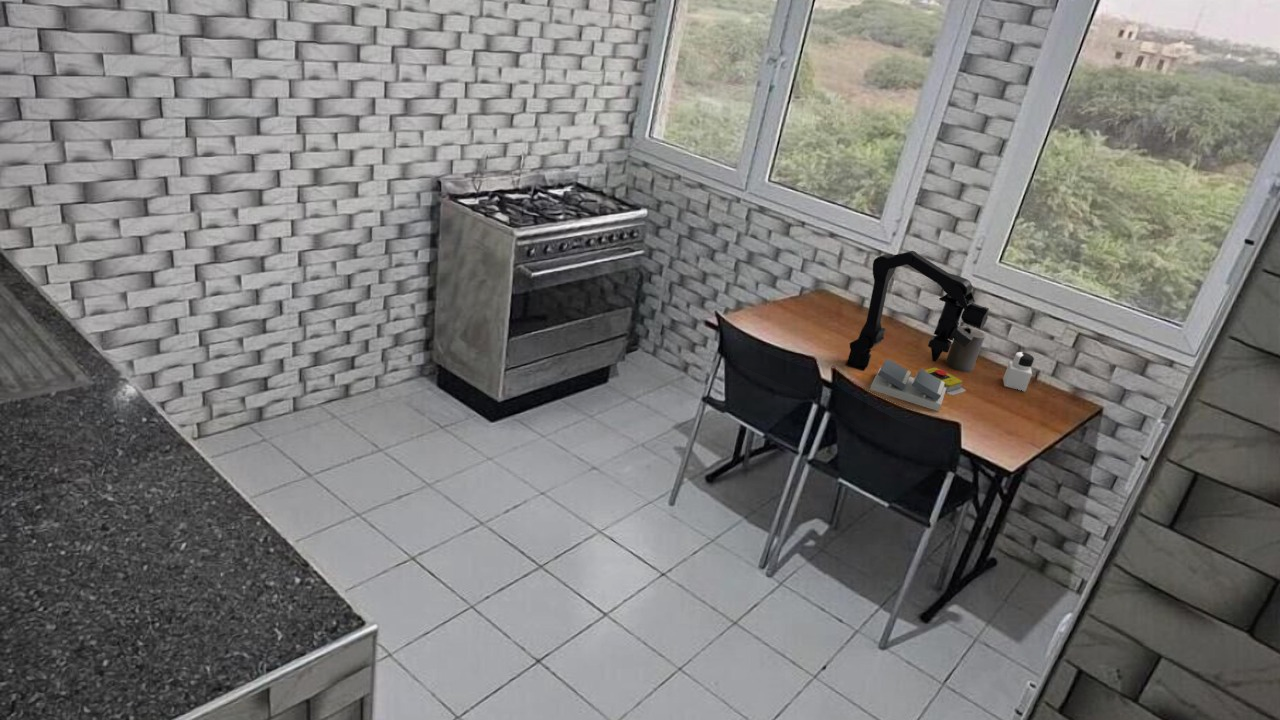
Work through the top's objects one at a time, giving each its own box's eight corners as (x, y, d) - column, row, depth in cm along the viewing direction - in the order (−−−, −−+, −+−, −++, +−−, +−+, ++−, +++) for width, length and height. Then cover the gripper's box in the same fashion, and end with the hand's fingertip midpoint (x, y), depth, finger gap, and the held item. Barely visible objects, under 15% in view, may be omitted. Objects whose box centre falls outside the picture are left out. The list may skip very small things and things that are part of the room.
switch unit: (870, 389, 272) (873, 379, 270) (878, 374, 285) (881, 364, 283) (938, 411, 265) (942, 400, 263) (944, 394, 277) (947, 384, 276)
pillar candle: (943, 366, 301) (957, 328, 294) (947, 357, 309) (960, 320, 303) (971, 374, 297) (985, 336, 291) (974, 365, 306) (988, 328, 299)
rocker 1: (877, 374, 270) (881, 369, 269) (884, 362, 280) (887, 357, 279) (902, 390, 268) (906, 384, 267) (908, 377, 278) (911, 372, 277)
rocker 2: (911, 385, 266) (915, 380, 265) (917, 373, 276) (920, 367, 275) (937, 400, 264) (941, 395, 263) (941, 387, 274) (945, 382, 273)
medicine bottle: (1023, 384, 296) (1035, 353, 292) (1025, 392, 290) (1037, 360, 285) (1002, 378, 298) (1014, 348, 293) (1003, 386, 292) (1015, 355, 287)
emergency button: (932, 362, 292) (970, 380, 282) (929, 373, 294) (966, 392, 283) (917, 366, 286) (955, 385, 276) (913, 377, 288) (951, 397, 278)
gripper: (972, 334, 255) (955, 379, 261) (978, 317, 270) (962, 360, 277) (936, 322, 258) (920, 367, 265) (944, 306, 274) (928, 349, 281)
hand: (934, 361), depth 272 cm, fingers closed
